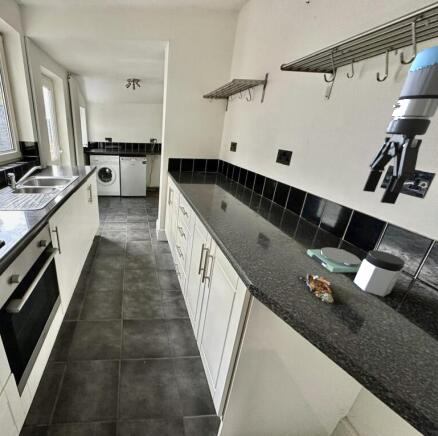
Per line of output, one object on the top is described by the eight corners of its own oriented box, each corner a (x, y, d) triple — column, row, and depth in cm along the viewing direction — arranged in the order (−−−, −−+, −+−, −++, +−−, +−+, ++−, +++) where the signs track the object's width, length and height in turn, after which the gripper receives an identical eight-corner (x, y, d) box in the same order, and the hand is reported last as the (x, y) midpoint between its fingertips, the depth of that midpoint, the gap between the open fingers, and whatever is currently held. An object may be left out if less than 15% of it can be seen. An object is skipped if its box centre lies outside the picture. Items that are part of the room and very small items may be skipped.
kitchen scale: (340, 254, 95) (343, 249, 94) (370, 273, 83) (373, 267, 82) (305, 254, 94) (307, 249, 93) (330, 273, 82) (333, 268, 81)
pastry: (318, 303, 68) (322, 293, 67) (298, 278, 79) (301, 269, 78) (343, 305, 67) (348, 295, 66) (319, 280, 78) (322, 271, 77)
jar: (379, 300, 70) (397, 267, 65) (348, 284, 77) (362, 253, 72) (393, 292, 74) (411, 260, 69) (363, 278, 80) (377, 248, 76)
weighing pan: (340, 249, 93) (341, 247, 93) (368, 266, 82) (369, 264, 82) (312, 249, 93) (313, 247, 92) (336, 266, 82) (337, 264, 81)
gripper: (373, 119, 72) (348, 185, 80) (417, 116, 51) (377, 206, 59) (405, 120, 69) (376, 189, 77) (466, 117, 48) (417, 211, 56)
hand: (377, 196), depth 68 cm, fingers open, 13 cm apart
